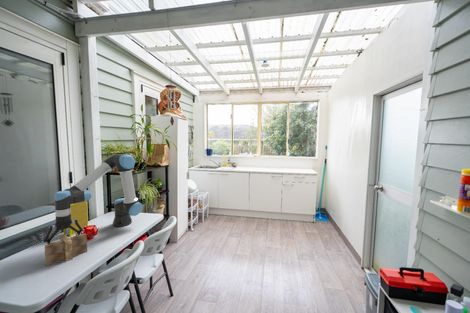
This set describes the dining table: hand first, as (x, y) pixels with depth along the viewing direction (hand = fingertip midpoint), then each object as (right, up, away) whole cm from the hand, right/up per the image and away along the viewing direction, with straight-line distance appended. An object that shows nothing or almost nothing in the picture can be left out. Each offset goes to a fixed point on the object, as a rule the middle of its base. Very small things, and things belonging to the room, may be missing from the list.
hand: (64, 246), depth 128 cm
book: (-19, -3, +33) cm, 38 cm away
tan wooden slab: (+3, -5, -2) cm, 6 cm away
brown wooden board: (+5, -5, -3) cm, 8 cm away
